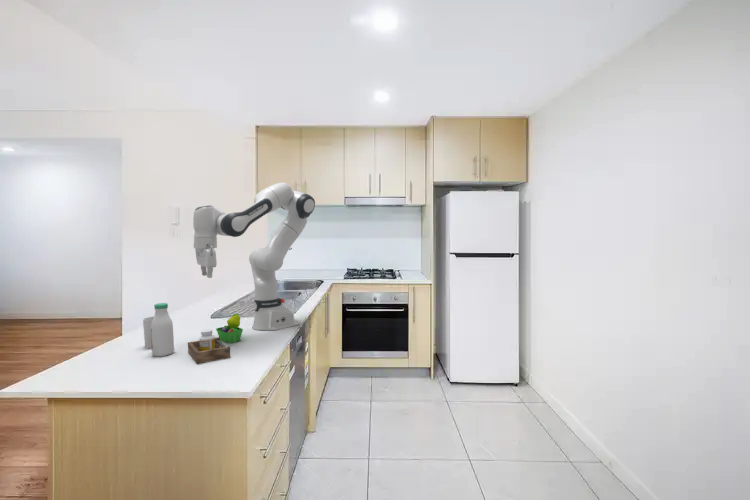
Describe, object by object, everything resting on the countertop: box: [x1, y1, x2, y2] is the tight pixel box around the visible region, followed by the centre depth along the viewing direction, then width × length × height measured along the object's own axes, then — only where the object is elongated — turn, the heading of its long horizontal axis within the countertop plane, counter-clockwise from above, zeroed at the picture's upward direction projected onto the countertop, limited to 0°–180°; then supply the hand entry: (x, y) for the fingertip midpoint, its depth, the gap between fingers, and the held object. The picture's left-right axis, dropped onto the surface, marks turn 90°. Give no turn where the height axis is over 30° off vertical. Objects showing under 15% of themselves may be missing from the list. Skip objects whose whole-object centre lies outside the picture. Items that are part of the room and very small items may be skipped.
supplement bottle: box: [199, 328, 216, 352], centre depth 152 cm, size 5×5×10 cm
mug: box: [142, 315, 155, 349], centre depth 166 cm, size 10×7×12 cm, turn 1°
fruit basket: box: [215, 313, 244, 344], centre depth 172 cm, size 11×9×11 cm
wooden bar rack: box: [187, 336, 231, 365], centre depth 153 cm, size 12×18×4 cm
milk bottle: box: [151, 302, 175, 357], centre depth 154 cm, size 8×8×20 cm
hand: (207, 276), depth 166 cm, fingers open, 8 cm apart
